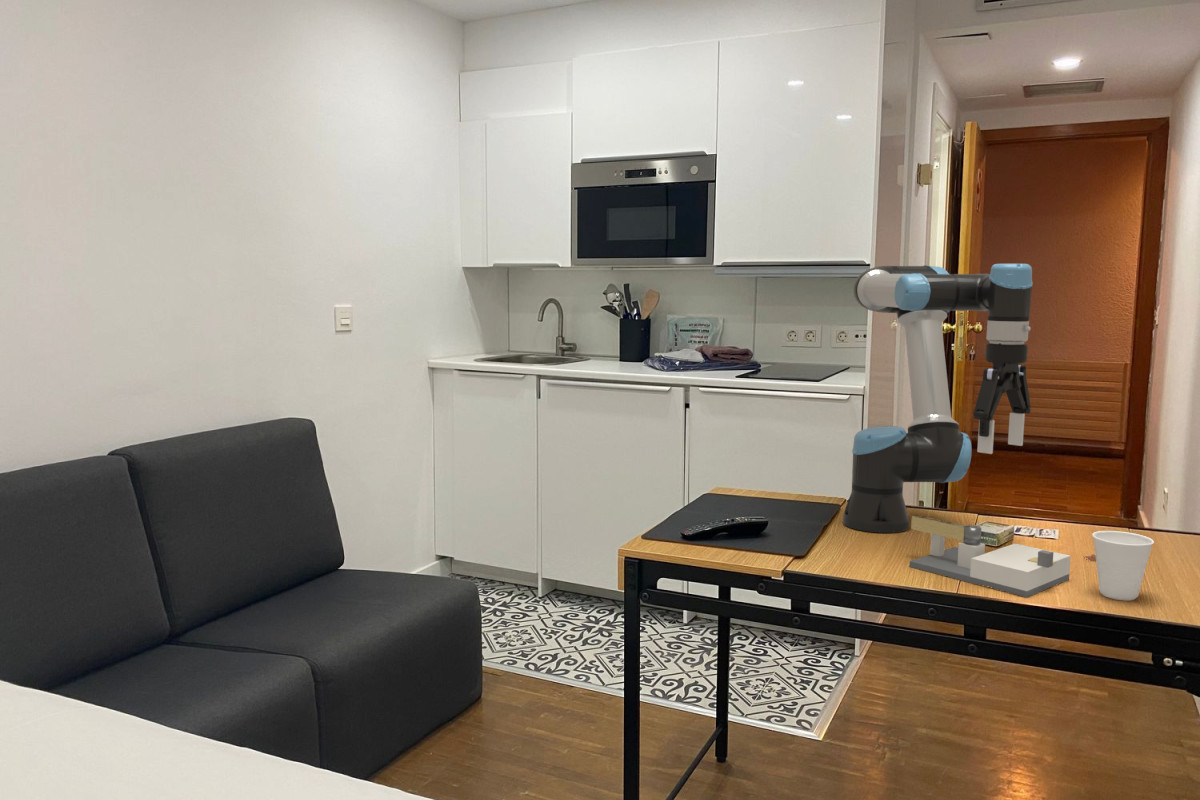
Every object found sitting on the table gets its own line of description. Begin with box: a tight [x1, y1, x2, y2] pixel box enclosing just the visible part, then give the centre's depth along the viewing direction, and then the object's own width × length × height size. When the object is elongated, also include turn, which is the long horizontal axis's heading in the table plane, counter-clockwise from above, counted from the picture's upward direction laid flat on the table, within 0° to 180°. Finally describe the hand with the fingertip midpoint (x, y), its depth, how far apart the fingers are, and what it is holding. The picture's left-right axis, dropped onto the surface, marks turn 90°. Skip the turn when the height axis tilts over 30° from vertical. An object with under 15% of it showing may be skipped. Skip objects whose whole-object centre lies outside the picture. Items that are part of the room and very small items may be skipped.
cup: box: [1091, 530, 1155, 602], centre depth 168 cm, size 10×10×11 cm
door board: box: [908, 533, 1071, 598], centre depth 181 cm, size 25×17×7 cm
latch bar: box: [910, 514, 982, 544], centre depth 186 cm, size 15×3×3 cm, turn 39°
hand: (1000, 448), depth 184 cm, fingers open, 13 cm apart
